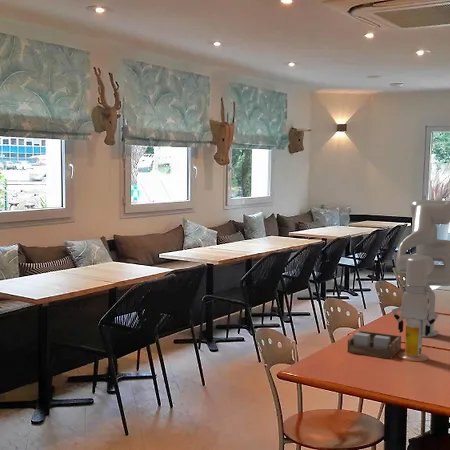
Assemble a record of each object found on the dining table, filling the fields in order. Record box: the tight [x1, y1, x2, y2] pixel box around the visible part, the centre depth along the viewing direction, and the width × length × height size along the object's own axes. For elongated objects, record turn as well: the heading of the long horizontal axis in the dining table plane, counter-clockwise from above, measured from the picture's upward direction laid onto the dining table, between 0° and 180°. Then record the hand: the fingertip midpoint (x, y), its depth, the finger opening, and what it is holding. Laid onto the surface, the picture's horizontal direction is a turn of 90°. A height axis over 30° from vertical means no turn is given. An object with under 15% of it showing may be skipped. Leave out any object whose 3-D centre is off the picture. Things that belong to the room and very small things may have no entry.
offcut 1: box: [353, 331, 370, 347], centre depth 248 cm, size 4×6×7 cm
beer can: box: [404, 318, 423, 357], centre depth 241 cm, size 6×6×15 cm
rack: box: [347, 330, 402, 360], centre depth 250 cm, size 17×17×5 cm
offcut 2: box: [374, 335, 390, 350], centre depth 244 cm, size 4×6×7 cm
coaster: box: [397, 351, 429, 363], centre depth 241 cm, size 11×11×1 cm
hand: (413, 333), depth 240 cm, fingers open, 9 cm apart
